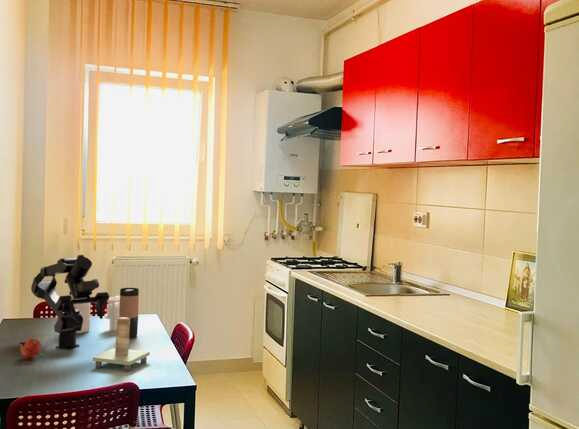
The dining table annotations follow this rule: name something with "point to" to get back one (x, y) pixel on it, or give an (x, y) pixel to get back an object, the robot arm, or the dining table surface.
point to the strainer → (113, 312)
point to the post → (122, 336)
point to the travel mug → (130, 308)
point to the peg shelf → (121, 358)
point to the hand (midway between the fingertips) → (90, 319)
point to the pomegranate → (30, 349)
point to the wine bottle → (84, 315)
